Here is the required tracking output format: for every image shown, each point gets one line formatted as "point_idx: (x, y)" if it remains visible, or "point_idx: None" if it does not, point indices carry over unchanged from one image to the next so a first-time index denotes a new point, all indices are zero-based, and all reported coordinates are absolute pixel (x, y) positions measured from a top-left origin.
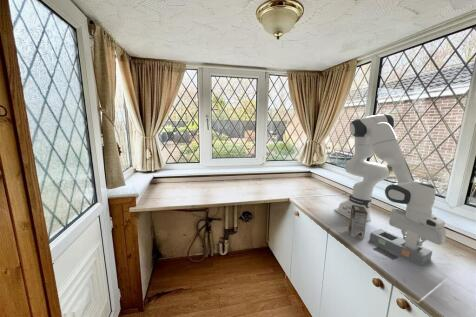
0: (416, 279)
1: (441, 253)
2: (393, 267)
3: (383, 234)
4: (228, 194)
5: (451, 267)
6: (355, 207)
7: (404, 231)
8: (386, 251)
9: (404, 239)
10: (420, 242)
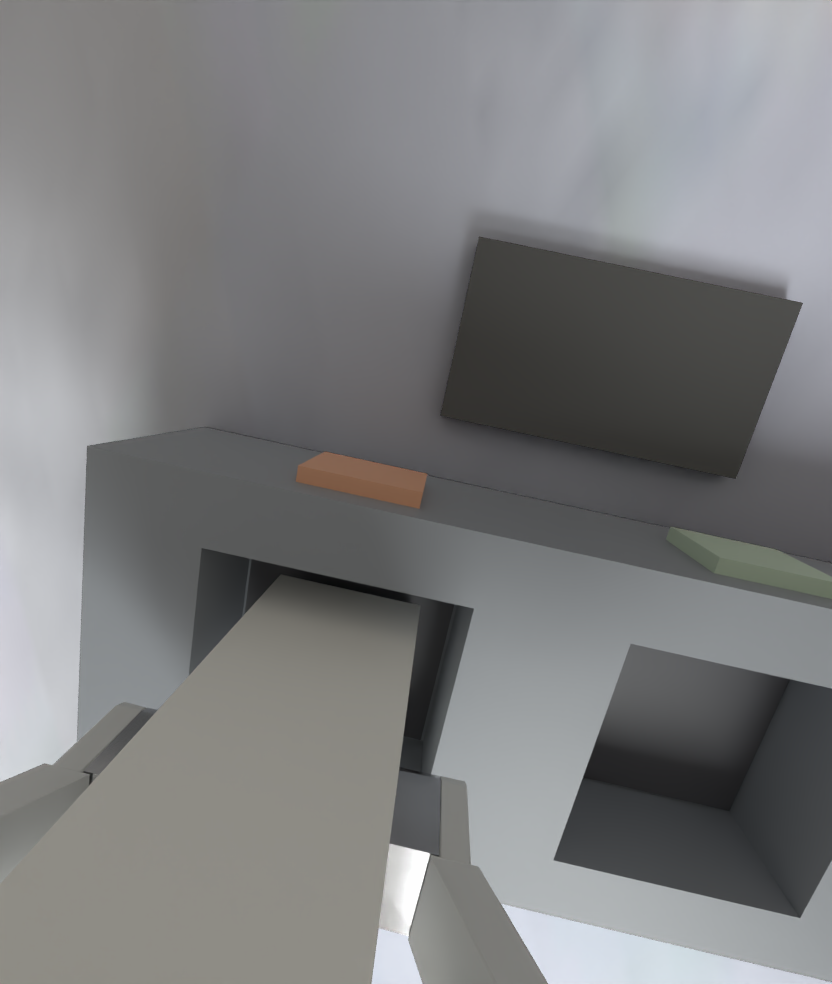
0: (149, 3)
1: None
2: (436, 33)
3: (773, 843)
4: None
5: (23, 712)
6: None
7: None
8: (608, 428)
9: (433, 776)
10: (47, 780)
